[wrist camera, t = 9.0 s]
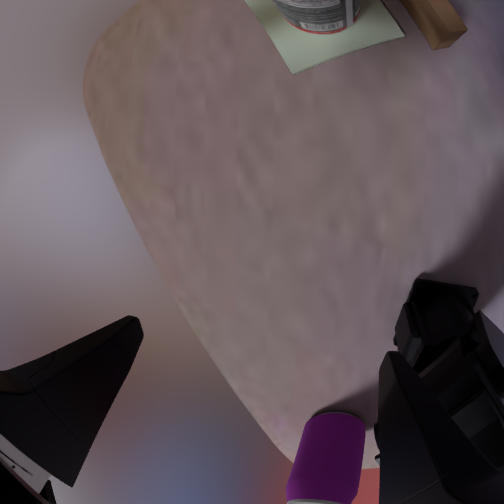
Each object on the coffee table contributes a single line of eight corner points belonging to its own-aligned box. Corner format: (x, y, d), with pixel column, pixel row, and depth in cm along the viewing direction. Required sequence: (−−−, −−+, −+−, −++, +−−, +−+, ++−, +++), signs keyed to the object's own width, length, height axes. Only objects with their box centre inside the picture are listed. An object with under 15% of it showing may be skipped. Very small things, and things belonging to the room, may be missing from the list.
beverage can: (345, 400, 26) (327, 497, 15) (377, 428, 26) (366, 512, 16) (293, 417, 29) (264, 500, 19) (327, 443, 30) (308, 517, 19)
